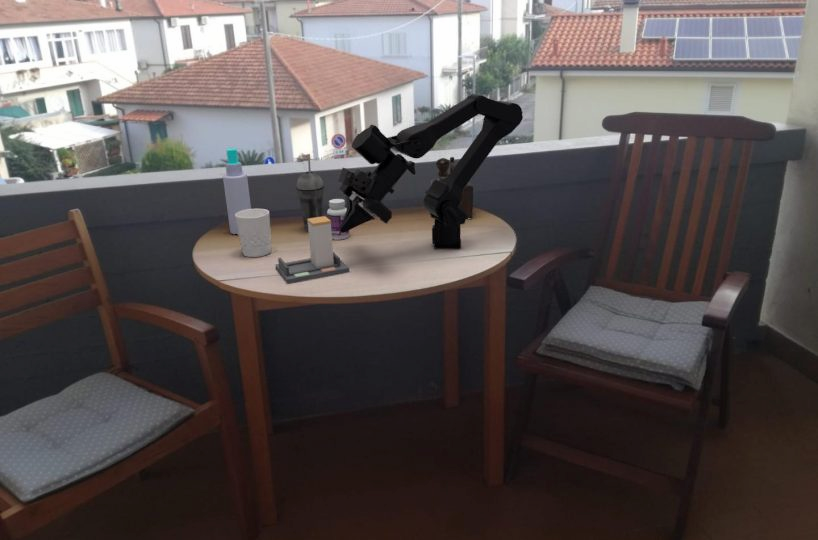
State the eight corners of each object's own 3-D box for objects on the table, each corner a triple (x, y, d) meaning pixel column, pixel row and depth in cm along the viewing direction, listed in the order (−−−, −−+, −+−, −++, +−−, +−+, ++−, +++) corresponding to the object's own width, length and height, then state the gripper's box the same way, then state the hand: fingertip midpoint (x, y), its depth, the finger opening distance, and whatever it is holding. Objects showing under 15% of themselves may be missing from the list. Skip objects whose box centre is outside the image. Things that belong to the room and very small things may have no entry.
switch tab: (328, 258, 144) (325, 216, 140) (334, 264, 140) (330, 220, 137) (310, 262, 142) (307, 218, 138) (316, 267, 139) (312, 223, 135)
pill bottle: (346, 240, 159) (343, 203, 156) (326, 239, 160) (323, 203, 157) (352, 234, 164) (350, 198, 160) (332, 233, 165) (330, 197, 161)
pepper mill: (428, 211, 182) (427, 149, 175) (465, 209, 183) (466, 147, 176) (436, 227, 168) (436, 160, 161) (477, 225, 169) (478, 158, 162)
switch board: (334, 258, 148) (333, 246, 147) (349, 271, 139) (348, 259, 138) (275, 268, 142) (274, 256, 141) (287, 283, 134) (286, 270, 133)
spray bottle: (249, 235, 165) (238, 151, 157) (227, 235, 166) (215, 151, 157) (256, 228, 170) (247, 147, 162) (235, 228, 171) (224, 147, 163)
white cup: (278, 248, 155) (274, 209, 152) (265, 259, 148) (260, 218, 144) (249, 246, 157) (244, 207, 153) (234, 257, 150) (229, 217, 146)
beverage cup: (296, 233, 165) (289, 158, 158) (304, 225, 172) (297, 152, 165) (323, 234, 164) (317, 158, 157) (330, 225, 171) (324, 152, 164)
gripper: (344, 147, 144) (302, 200, 144) (376, 162, 129) (328, 221, 128) (377, 177, 150) (336, 228, 150) (411, 194, 135) (365, 251, 134)
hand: (340, 231), depth 141 cm, fingers closed
